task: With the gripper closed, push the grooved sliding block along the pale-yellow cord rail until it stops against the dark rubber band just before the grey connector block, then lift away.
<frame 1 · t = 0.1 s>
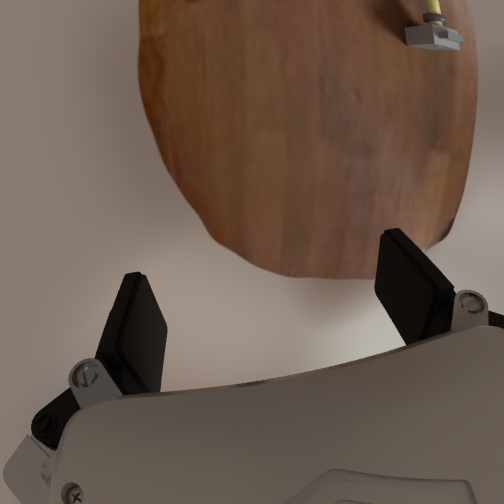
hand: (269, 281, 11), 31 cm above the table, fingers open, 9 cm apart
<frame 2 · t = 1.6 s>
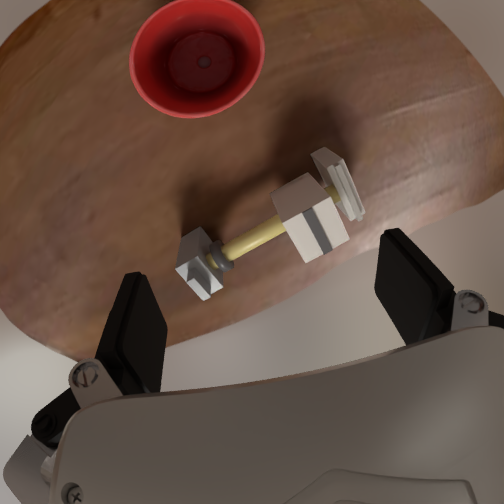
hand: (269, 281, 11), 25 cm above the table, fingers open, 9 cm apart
flower pot: (202, 62, 27), on the table
grooved sliding block: (307, 214, 31), point 6 cm above the table, slide at 0.0 cm
cord rail: (258, 213, 37), on the table
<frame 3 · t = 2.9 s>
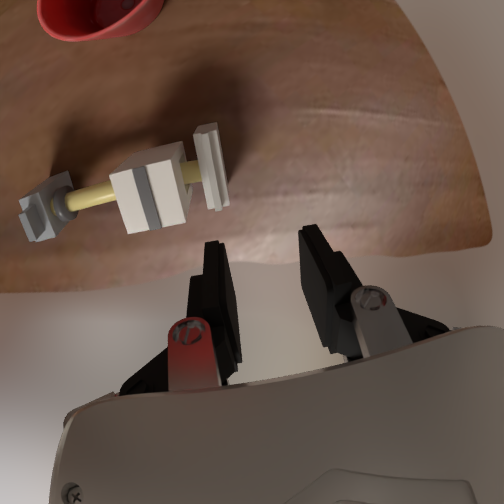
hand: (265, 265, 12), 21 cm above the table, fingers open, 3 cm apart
flower pot: (129, 5, 20), on the table
grooved sliding block: (156, 183, 25), point 6 cm above the table, slide at 0.0 cm
cord rail: (125, 175, 30), on the table
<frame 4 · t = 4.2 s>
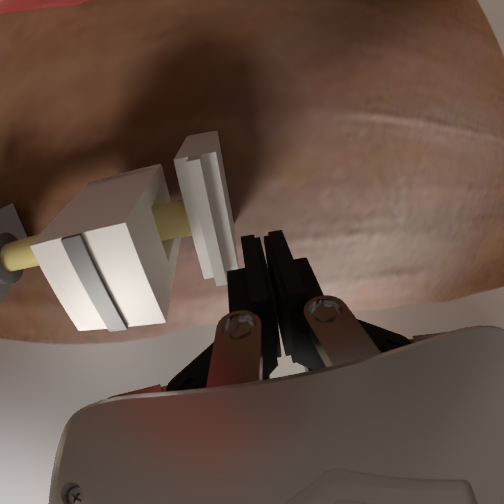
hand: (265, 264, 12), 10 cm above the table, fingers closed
grooved sliding block: (117, 241, 15), point 6 cm above the table, slide at 0.0 cm
cord rail: (84, 210, 20), on the table
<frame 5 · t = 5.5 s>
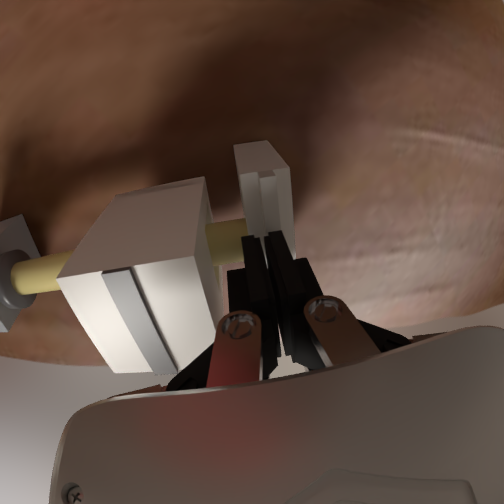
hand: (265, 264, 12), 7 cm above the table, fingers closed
grooved sliding block: (158, 268, 13), point 6 cm above the table, slide at 0.2 cm, touching gripper
cord rail: (108, 224, 18), on the table
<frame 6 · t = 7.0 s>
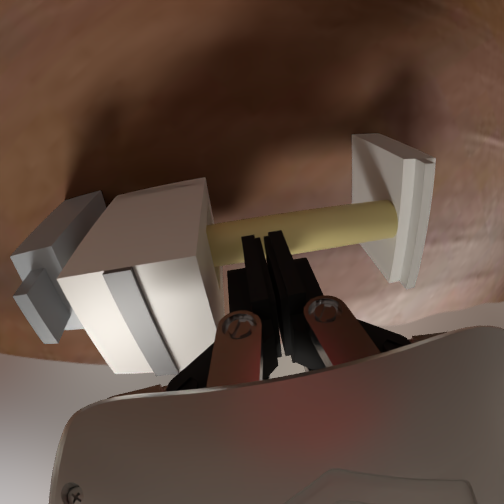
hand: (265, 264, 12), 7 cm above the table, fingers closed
grooved sliding block: (159, 269, 13), point 6 cm above the table, slide at 7.5 cm, touching cord rail, gripper
cord rail: (214, 205, 18), on the table
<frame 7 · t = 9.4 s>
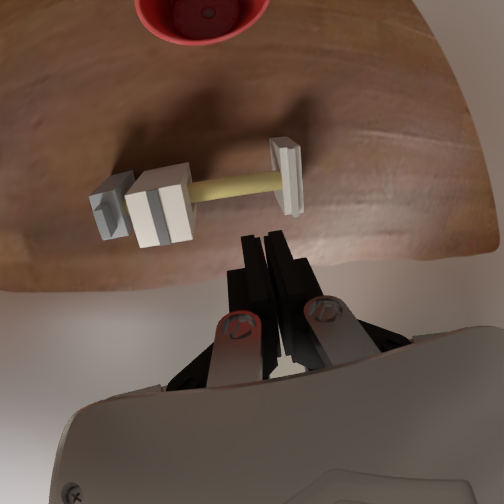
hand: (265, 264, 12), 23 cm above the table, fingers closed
flower pot: (207, 14, 24), on the table
grooved sliding block: (165, 202, 28), point 6 cm above the table, slide at 7.5 cm, touching cord rail
cord rail: (194, 178, 33), on the table
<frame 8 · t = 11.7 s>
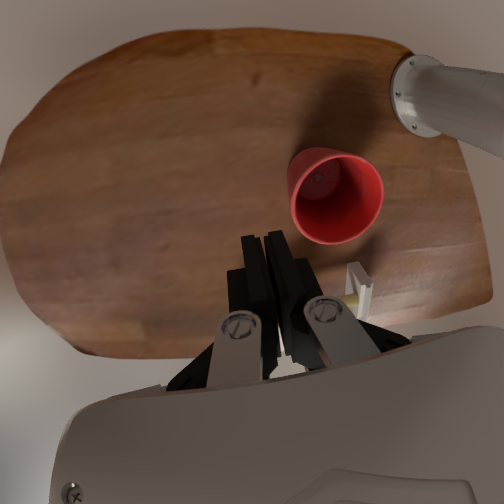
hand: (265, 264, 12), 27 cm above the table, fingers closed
flower pot: (314, 174, 39), on the table
grooved sliding block: (287, 319, 43), point 6 cm above the table, slide at 7.5 cm, touching cord rail
cord rail: (294, 290, 49), on the table
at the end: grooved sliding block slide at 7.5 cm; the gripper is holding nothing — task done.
